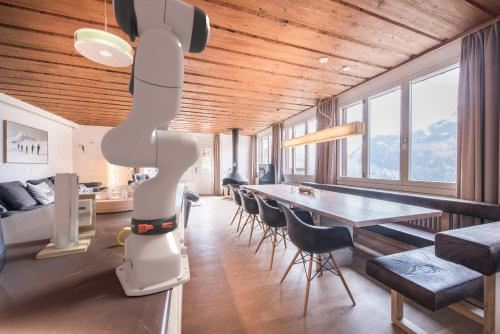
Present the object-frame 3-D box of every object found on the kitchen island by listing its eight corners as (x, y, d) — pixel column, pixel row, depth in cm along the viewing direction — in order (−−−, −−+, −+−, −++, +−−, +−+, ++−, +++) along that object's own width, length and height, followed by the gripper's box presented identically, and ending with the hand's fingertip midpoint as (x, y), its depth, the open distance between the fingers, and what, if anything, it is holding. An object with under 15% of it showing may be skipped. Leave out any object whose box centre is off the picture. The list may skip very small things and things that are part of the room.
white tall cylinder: (64, 249, 70) (64, 173, 70) (48, 248, 71) (49, 173, 71) (83, 242, 76) (83, 172, 76) (68, 241, 77) (69, 172, 77)
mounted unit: (93, 237, 86) (93, 195, 86) (50, 242, 80) (50, 197, 80) (95, 232, 93) (95, 193, 93) (56, 237, 86) (56, 195, 86)
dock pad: (85, 251, 71) (85, 248, 71) (36, 259, 65) (36, 255, 65) (90, 241, 81) (90, 237, 81) (48, 246, 75) (49, 243, 75)
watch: (134, 242, 81) (136, 226, 82) (136, 244, 79) (137, 228, 80) (116, 244, 78) (117, 228, 78) (117, 246, 76) (119, 229, 76)
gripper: (149, 121, 102) (144, 149, 100) (158, 108, 86) (152, 141, 83) (162, 125, 106) (158, 152, 104) (174, 113, 89) (168, 145, 87)
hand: (155, 147), depth 93 cm, fingers open, 8 cm apart
